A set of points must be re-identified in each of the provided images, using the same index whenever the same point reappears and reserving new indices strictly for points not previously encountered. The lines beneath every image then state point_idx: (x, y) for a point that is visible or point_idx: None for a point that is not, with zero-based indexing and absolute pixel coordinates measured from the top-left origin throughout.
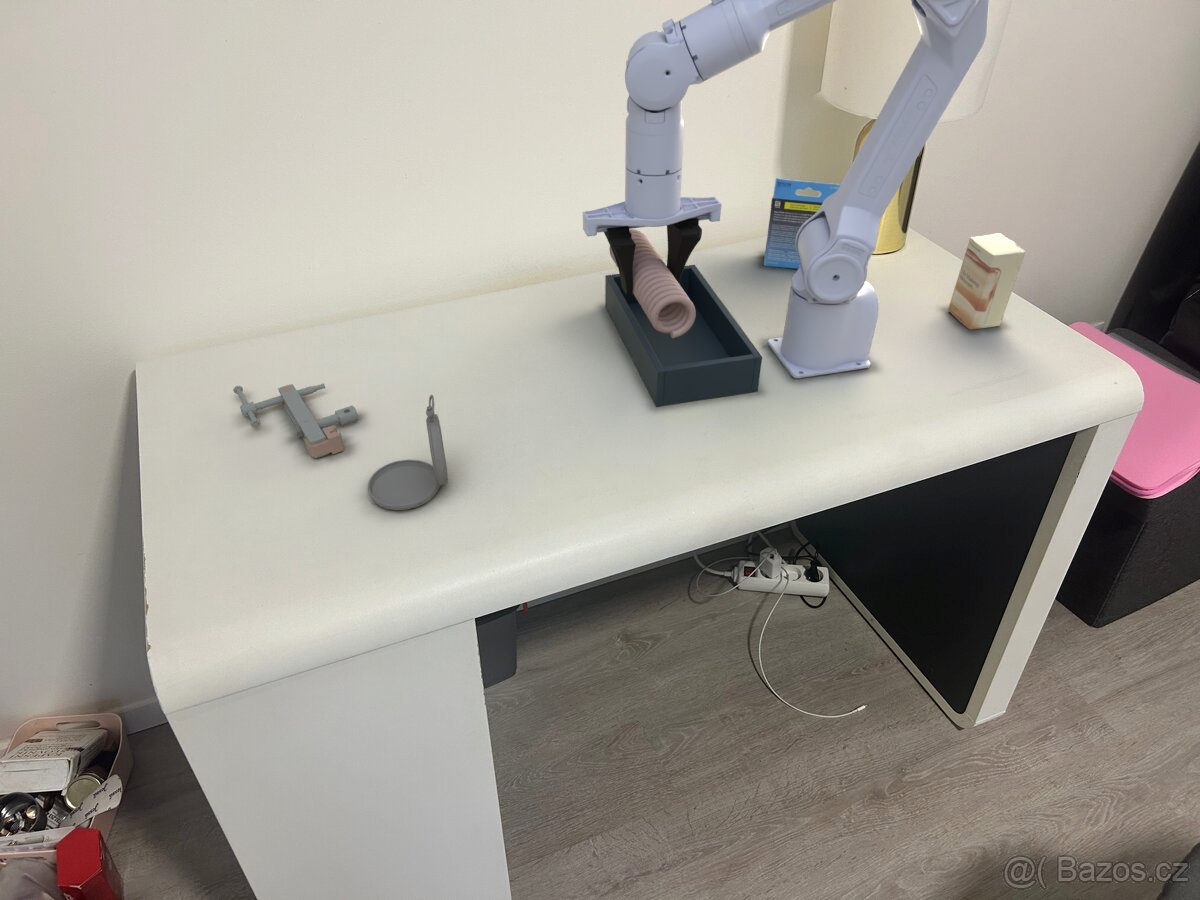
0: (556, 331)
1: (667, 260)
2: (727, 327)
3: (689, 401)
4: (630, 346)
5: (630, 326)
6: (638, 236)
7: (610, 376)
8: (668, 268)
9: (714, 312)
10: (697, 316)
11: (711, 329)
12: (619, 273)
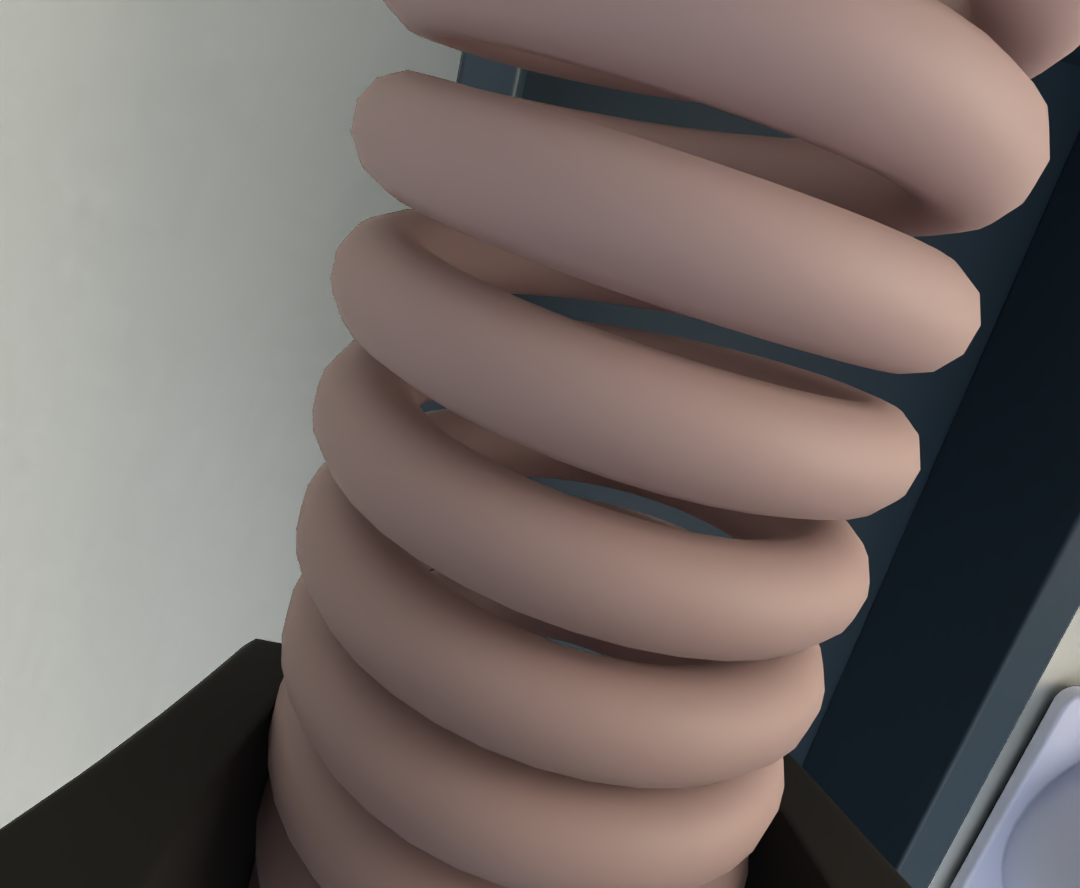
0: (77, 15)
1: (812, 878)
2: (901, 773)
3: None
4: None
5: None
6: (883, 157)
7: (234, 592)
8: (756, 869)
9: (978, 579)
10: None
11: (919, 499)
12: (172, 705)
